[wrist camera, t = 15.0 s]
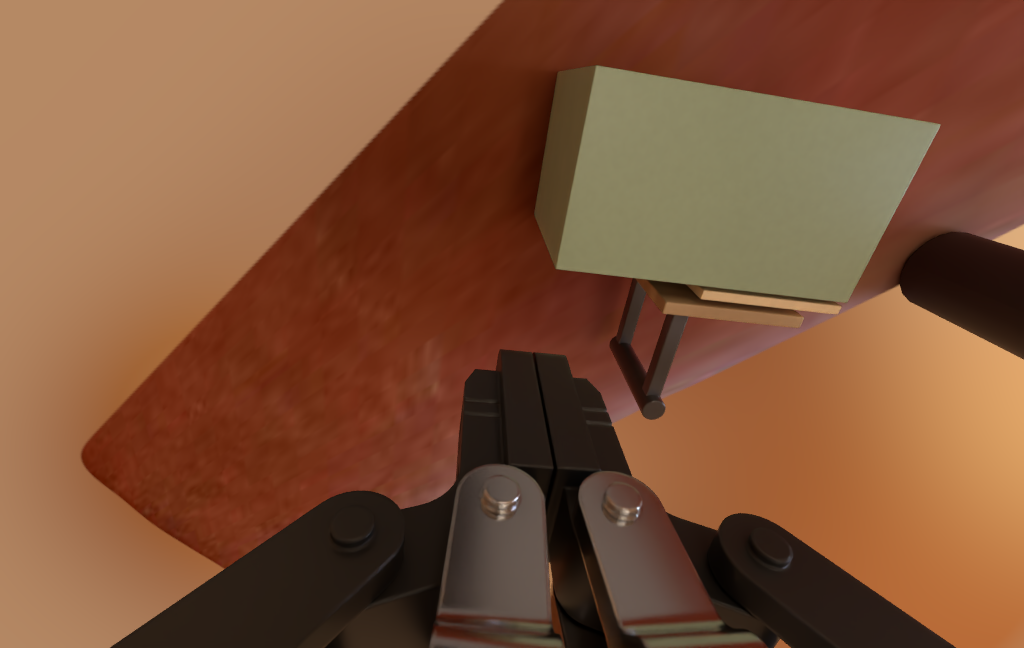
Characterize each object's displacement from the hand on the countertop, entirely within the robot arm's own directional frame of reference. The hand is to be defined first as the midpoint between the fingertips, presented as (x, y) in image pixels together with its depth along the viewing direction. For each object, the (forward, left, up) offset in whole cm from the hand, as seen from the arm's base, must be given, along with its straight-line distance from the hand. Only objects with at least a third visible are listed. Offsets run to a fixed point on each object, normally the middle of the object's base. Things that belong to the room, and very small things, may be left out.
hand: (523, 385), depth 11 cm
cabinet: (+4, +12, -27) cm, 30 cm away
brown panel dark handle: (+14, +9, -27) cm, 32 cm away
